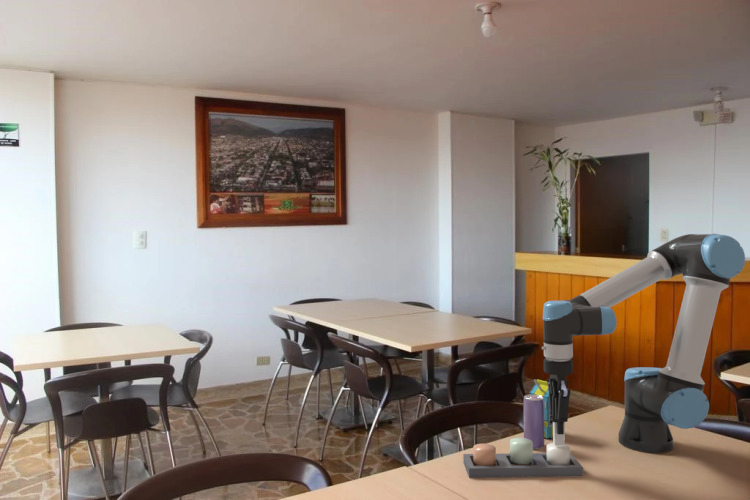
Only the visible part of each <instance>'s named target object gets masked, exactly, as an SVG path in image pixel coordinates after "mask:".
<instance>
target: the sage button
mask: <svg viewBox="0 0 750 500" xmlns="http://www.w3.org/2000/svg"><path fill="white" fill-rule="evenodd" d="M509 453H510V460H511V461H512V462H514V463H518V464H517V465H530V464H529V463H531V462H532V461H533V453H534V449H533V442H532V441H531V440H530V439H526V438H524V437H513V438H511V439H509Z"/></svg>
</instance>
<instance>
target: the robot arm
mask: <svg viewBox="0 0 750 500" xmlns="http://www.w3.org/2000/svg"><path fill="white" fill-rule="evenodd" d="M745 262H746V255H745V250H744V248H743V247H742V246H741V244H740V242H739V241H738V240H737V239H735V238H734V237H732V236H730V235H725V234H718V233H710V234H708V233H705V234H703V233H702V234H701V233H700V234H699V233H698V234H697V233H695V234H694V233H693V234H692V233H689V234H685V235H681V236H677V237H675V238H672V239H671V240H669V241H667V242H665V243H663V244H662V245H660V246H657V247H656V248H654V249H652V250H651V251H649V252H648V253H647V257H645V258H643V259H642V260H639V261H638V262H636V263H635V264H633V265H631V266H629V267H627V268H625V269H623V270H622V271H620V272H618V273H617V274H614V275H612V276H611V277H609V278H608V279H606V280H604V281H602V282H600V283H598V284H597V285H595V286H593V287H592V288H590V289H588V290H586V291H584V292H582V293H580V294H579V295H576V296H574V297H573V298H570V300H569V299H565V300H564V299H563V300H549V301H546V302H545V303H543V309H542V310H543V311H542V325H543V326H542V327H543V328H542V329H543V346H541V350H543V356H544V357H545V358H544V359H543V372H544V373H545V374H548V375H549V377H548V378H546V382H547V383H548V391H549V404H550V414H551V415H552V421H553V438H552V443H553V444H554V445H555V446H560V445H566V443H565V442H566V441H565V440H566V439H565V438H566V437H565V436H566V434H565V433H566V432H565V423H567V422H568V420H569V407H570V405H569V404H570V396H571V392H572V391H571V389H569V388H568V387H569V386H568V385H569V383H568V382H569V381H568V380H567V377H568V375H569V376H570V375H571V374H572V373H573V372H574V370H573V369H574V367H573V366H574V363H573V362H574V361H573V359H572V358H574V349H573V348H574V347H573V346H574V345H573V337H577V336H604V335H611V334H613V333H614V332H615V330H616V328H617V316H616V313H615V311H614V309H612V307H614V306H616V305H617V304H619V303H621V302H624V301H625V300H626V299H628V298H630V297H632V296H633V295H634V296H635V294H637V293H638V292H641V291H643V290H644V289H646V288H648V287H650V286H652V285H654V284H655V283H657V282H659V281H660V280H666V281H667V280H670V279H671V278H673V277H676V276H679V275H681V277H682V279H683V281H684V283H685V285H686V286H685V289H684V293H683V298H682V301H681V306H680V309H679V313H678V318H677V322H676V326H675V330H674V334H673V337H672V341H671V345H670V350H669V354H668V358H667V362H666V364H665V365H666V366H665V367H663V368H662V367H649V366H648V367H647V366H644V367H640V366H639V367H630V368H627V369H626V371H625V372H624V380H623V381H624V417H623V420H622V423H621V425H620V428H619V431H618V438H617V439H618V443H620V444H621V445H622V446H624V447H626V448H627V449H631V450H634V451H637V452H638V451H639V452H644V453H645V452H646V453H651V454H652V453H654V454H655V453H656V454H657V453H668V452H670V451H672V450H673V449H674V437H673V435H672V432H671V429H670V426H673V427H676V428H679V429H682V430H688V429H693V428H695V427H696V426H697V425H700V424H702V422H703V421H704V420H706V417H707V415H708V413H709V410H710V403H709V400H708V397H707V395H706V394H705V393H704V388H705V384H706V383H705V381H704V380H703V378H702V376H701V373H702V370H703V366H704V362H705V358H706V353H707V350H708V346H709V342H710V341H709V340H710V337H711V333H712V328H713V325H714V322H715V316H716V313H717V308H718V304H719V300H720V297H721V292H723V290H726V289H727V288H729V286H730V282H731V279H732V278H735V277H736V276H738V274H740V273H741V272H742V270H744V267H745V264H746V263H745Z"/></svg>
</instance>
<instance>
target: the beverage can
mask: <svg viewBox="0 0 750 500" xmlns="http://www.w3.org/2000/svg"><path fill="white" fill-rule="evenodd" d="M523 438H526V439H530V440H531V441H532V442H533V450H542V449H543V447H544V446H545V439H544V399H543V397H542V396H540V395H534V394H530V395H529V394H525V395H524V396H523Z"/></svg>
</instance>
